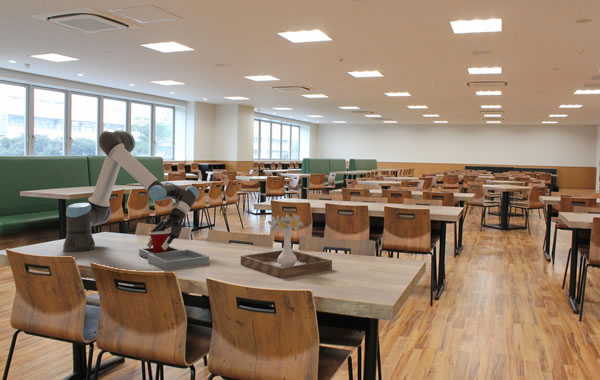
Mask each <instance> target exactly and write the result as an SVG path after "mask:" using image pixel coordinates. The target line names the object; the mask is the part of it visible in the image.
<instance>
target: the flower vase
mask: <svg viewBox="0 0 600 380" xmlns="http://www.w3.org/2000/svg"><path fill="white" fill-rule="evenodd" d="M292 215H293V217H292V216H289V214H288V213H287V214H286V215H285V216H281V217H280V216H279V215H277V217H276V218H275V217H274V215H272V216H271V220H268V221H267V224H268V225H269V226H270V228H269V229H270V232H273V231H274V230H275V231H276V232H278V231H280V233H281V234H282V233H283V234H284V240H283V247H282V248H283V249H282V250H283V251H282V253H281V254H280V255H279V256H278V259H277V260H276V261H277V263H278V264H279V265H280V267H282V268H284V267H290V266H295V265H296V264H297V262H298V261H297V257H296V256H295V255H294V253H293V252H292V250H293V249H292V243H291V240H292V239H291V235H292V231H293V229H294V230H295V231H297V232H298V230H299V229H301V227H304V223H303V222H302V221H301V217H300V215H298V214H294V213H293V214H292Z"/></svg>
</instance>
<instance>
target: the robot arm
mask: <svg viewBox="0 0 600 380" xmlns="http://www.w3.org/2000/svg"><path fill="white" fill-rule="evenodd" d="M97 141H98V146H99V148H100V149H101V151H102V152H103V153H104V154H105V158H104V161H103V164H102V167H101V170H100V173H99V175H98V179H97V182H96V184H95V187H94V190H93V193H92V196H90V197H88V199H87V202H76V203H72V204H70V205H68V206H66V212H65V215H66V217H65V218H66V237H65V240H64V241H63V242H64V243H63V245H62V247H63V251H65V252H86V251H87V252H88V251H91V250H95V249H96V242H95V240H94V237H93V233H92V227H94V226H95V227H96V226H101V225H103V224H105V223H107V222H108V221H109V219H110V218H111V214H112V210H111V208H110V206H111V202H110V201H109V200H110V197H111V194H112V193H113V189H114V186H115V183H116V181H117V177H118V175H119V172H120V169H121V168H123V169H124V170H125V171H126V172H127V173H128V174H129V175H130V176H131V177H132V178H133V179H134V180H136V182H138V184H140V185H141V186H142V187H143V188H144V189H145V190H146V191H147V192H148V196H149V198H150V199H151V200H153V201H154V202H155V201H156V202H161V201H164V200H174V201H176V203H175V204H174V206H173V208H172V209H171V211H170V212H169V213H168V217H167V218H165V217H162V219H161V220H160V221H159V223H158V224H157V225H155V226H154V227H153V229H152V230H151V231H150V232H158V231H166V230H167V229H169V228H170V229H171V230H170V231H171V234H170V236H168V237H167V239H166V241H165V242H164V244H163V245H162V248H163V249H164V250H166V249H167V247H168V246H170V245H172V242H173V241H174V240H175V239H179V236H180V234H181V232H182V229H183V227H184V225H185V224H186V223H185V221H184V219H185V218H186V216H187V215H188V213H189V212H190V210H191V208H192V207H193V205H194V204H195V203H196V201H197V199H198V198H199V196H200V190H199V189H198V188H197V187H196V186H193V185H187V187H186V188H185V187H182V186H180V185H177V184H175V183H173V182H169V181H163V182H161V181H160V180H159V179H158V178H157V177H156V176H155V175H154V174H152V173H151V171H149V170H148V168H146V167H145V166H144V165H143V164H142V163H141V162H140V161H139V160H138V159H137V158H136V157H135V156H134V155H132V154H131V152H133V150H134V149H135V147H136V141H135V137H134V135H132V134H131V132H129V131H126V130H121V129H120V130H119V129H118V130H117V129H115V130H114V129H107V130H104V131H102V132H101V133H100V135H99V137H98V140H97ZM145 245H146V246H147V248H152V247H153V245H152V239H151V237H150V238H149V240H148V241H147V243H146V244H145Z"/></svg>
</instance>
